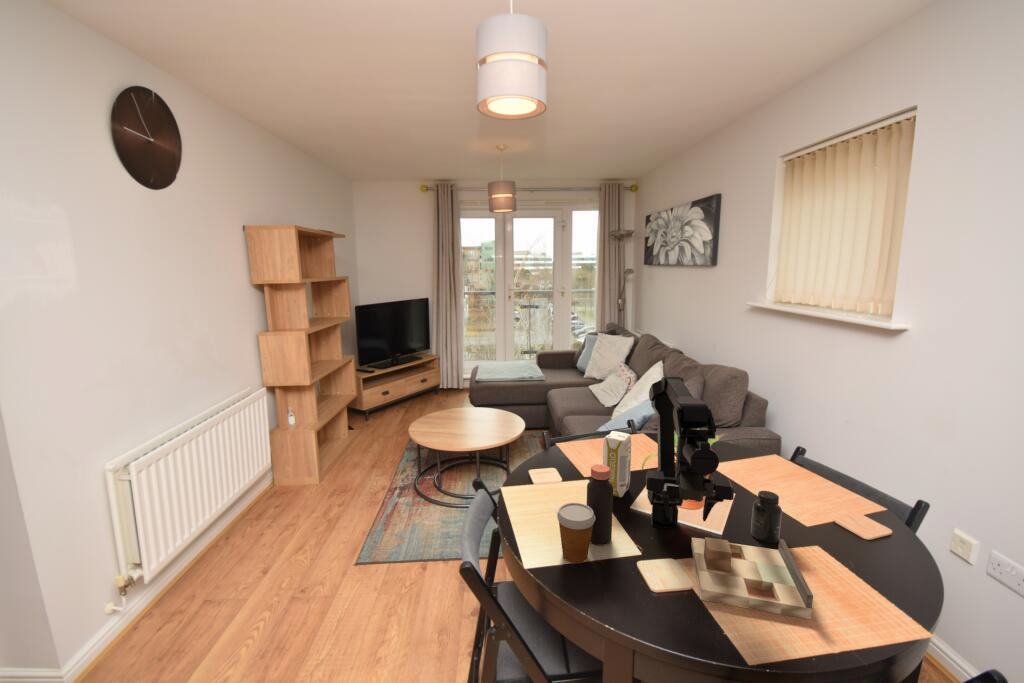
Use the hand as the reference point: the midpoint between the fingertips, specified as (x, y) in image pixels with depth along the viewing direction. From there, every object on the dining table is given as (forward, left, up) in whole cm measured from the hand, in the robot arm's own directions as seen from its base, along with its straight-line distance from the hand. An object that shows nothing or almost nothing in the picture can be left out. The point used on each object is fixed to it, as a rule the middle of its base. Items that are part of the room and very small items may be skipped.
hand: (685, 518), depth 106 cm
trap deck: (+13, 0, -13) cm, 19 cm away
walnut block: (+7, 0, -10) cm, 13 cm away
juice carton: (-18, +35, -13) cm, 41 cm away
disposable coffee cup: (-26, -2, -13) cm, 29 cm away
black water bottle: (-21, +7, -13) cm, 25 cm away
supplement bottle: (+22, +20, -13) cm, 33 cm away
